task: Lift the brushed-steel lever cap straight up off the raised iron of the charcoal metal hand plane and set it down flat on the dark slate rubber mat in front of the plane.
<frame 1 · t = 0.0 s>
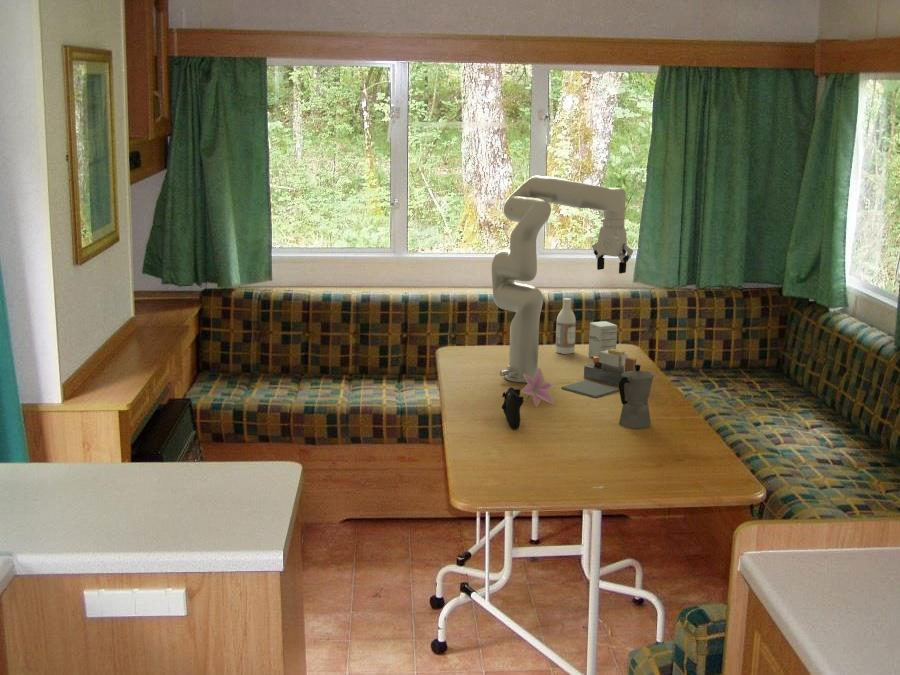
hand: (611, 271, 398), 31 cm above the table, tool pointing down, fingers open, 9 cm apart
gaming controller: (510, 423, 326), on the table
supplement box: (602, 358, 403), on the table
mat: (590, 389, 362), on the table
bath foam: (565, 352, 410), on the table
lily: (536, 403, 347), on the table
plane body: (612, 380, 372), on the table
coffeepot: (632, 425, 326), on the table
lever cap: (613, 363, 371), point 6 cm above the table, touching plane body
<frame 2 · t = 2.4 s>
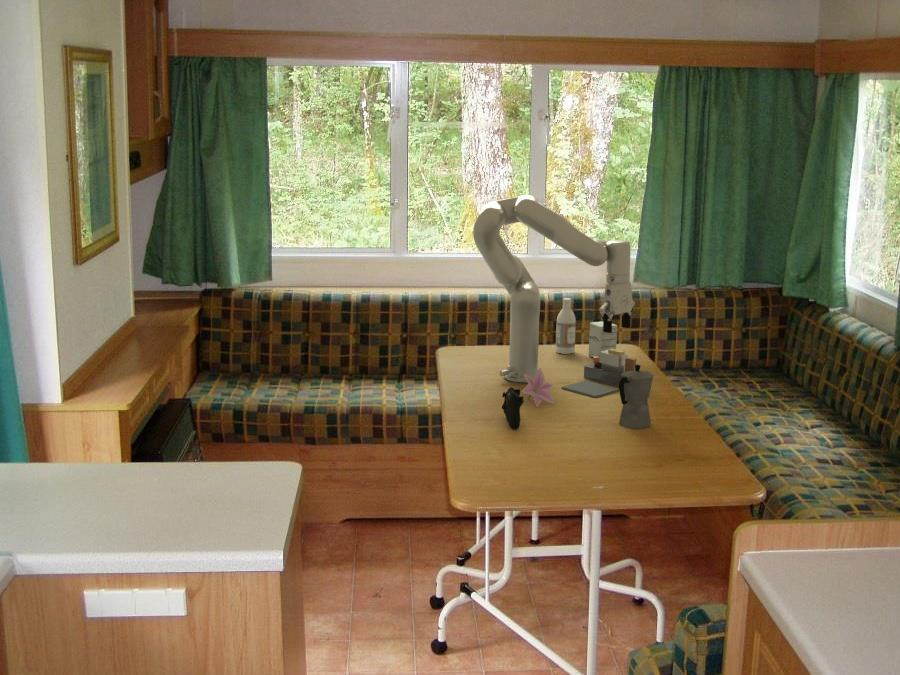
hand: (616, 329, 368), 17 cm above the table, tool pointing down, fingers open, 9 cm apart
nothing on the table moved.
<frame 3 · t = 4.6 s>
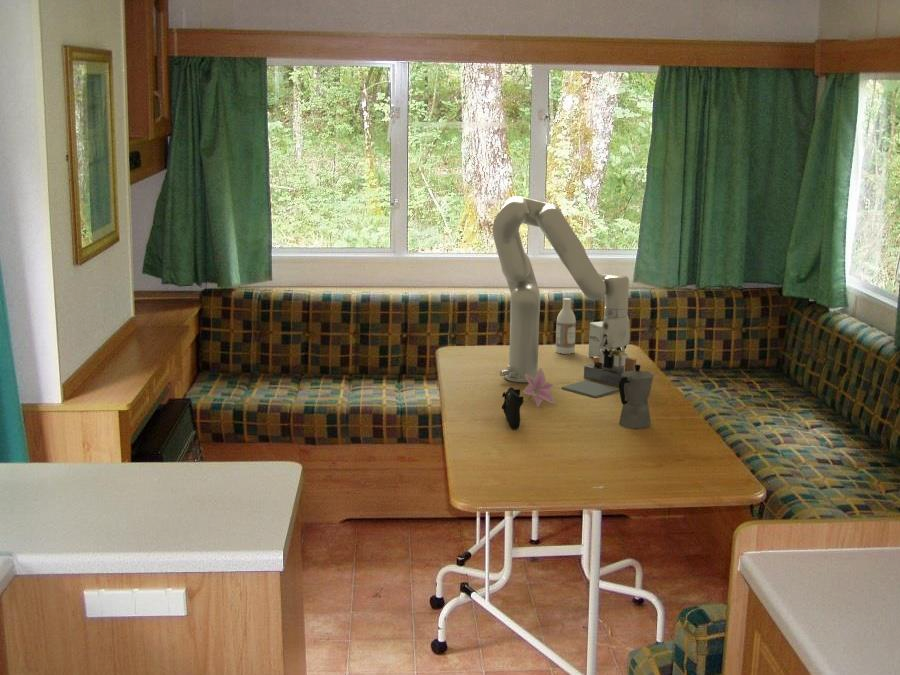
hand: (613, 365, 371), 5 cm above the table, tool pointing down, fingers closed on lever cap, 4 cm apart
lever cap: (613, 363, 371), point 6 cm above the table, touching gripper, plane body
everything else where it was.
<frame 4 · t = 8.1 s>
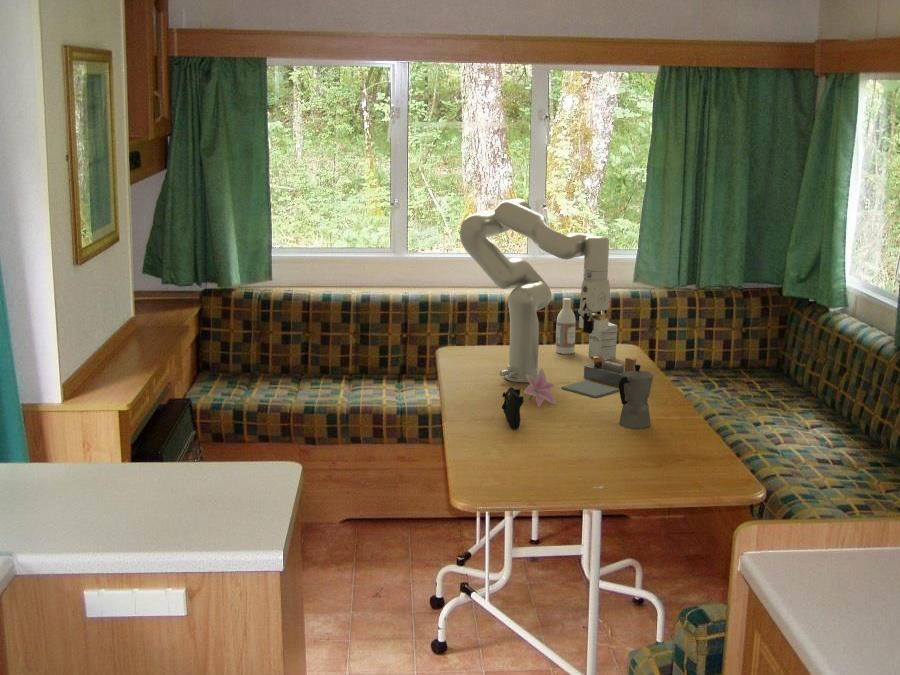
hand: (593, 330, 357), 20 cm above the table, tool pointing down, fingers closed on lever cap, 4 cm apart
lever cap: (593, 328, 357), point 20 cm above the table, touching gripper
everything else where it was.
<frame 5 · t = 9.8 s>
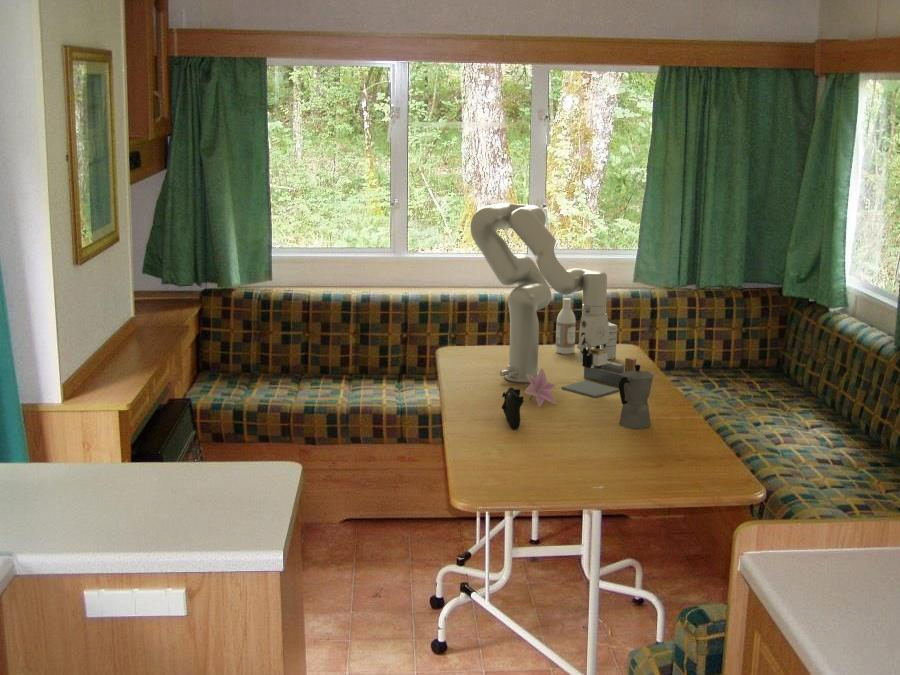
hand: (592, 365, 360), 8 cm above the table, tool pointing down, fingers closed on lever cap, 4 cm apart
lever cap: (592, 362, 359), point 9 cm above the table, touching gripper
everything else where it was.
when the fingers open (2 cm above the table, at t = 11.6 s): lever cap drops 2 cm, resting on mat.
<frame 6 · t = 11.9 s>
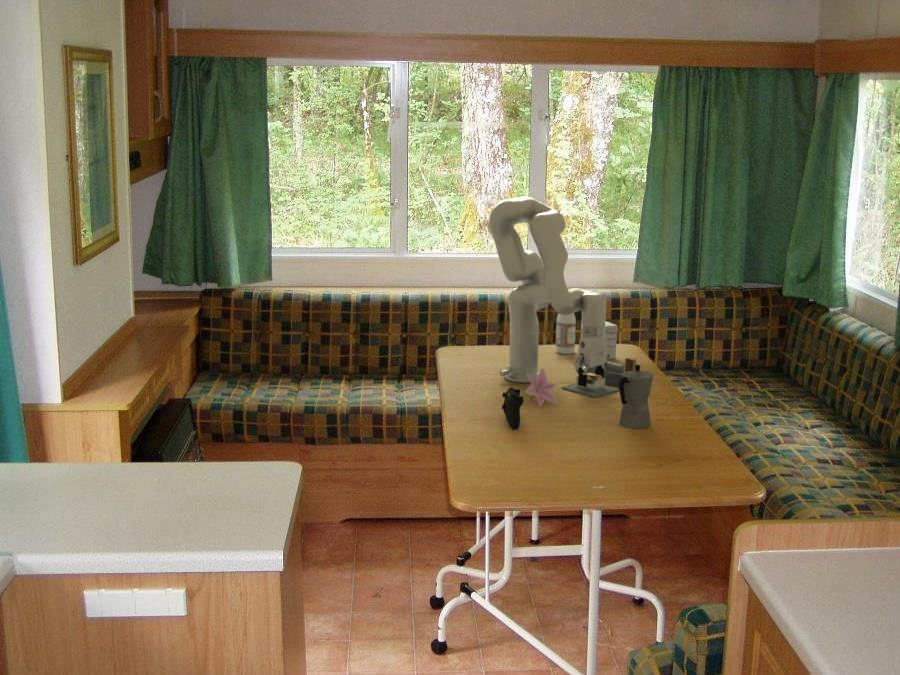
hand: (590, 383, 361), 2 cm above the table, tool pointing down, fingers open, 8 cm apart
lever cap: (590, 387, 361), point 1 cm above the table, touching mat
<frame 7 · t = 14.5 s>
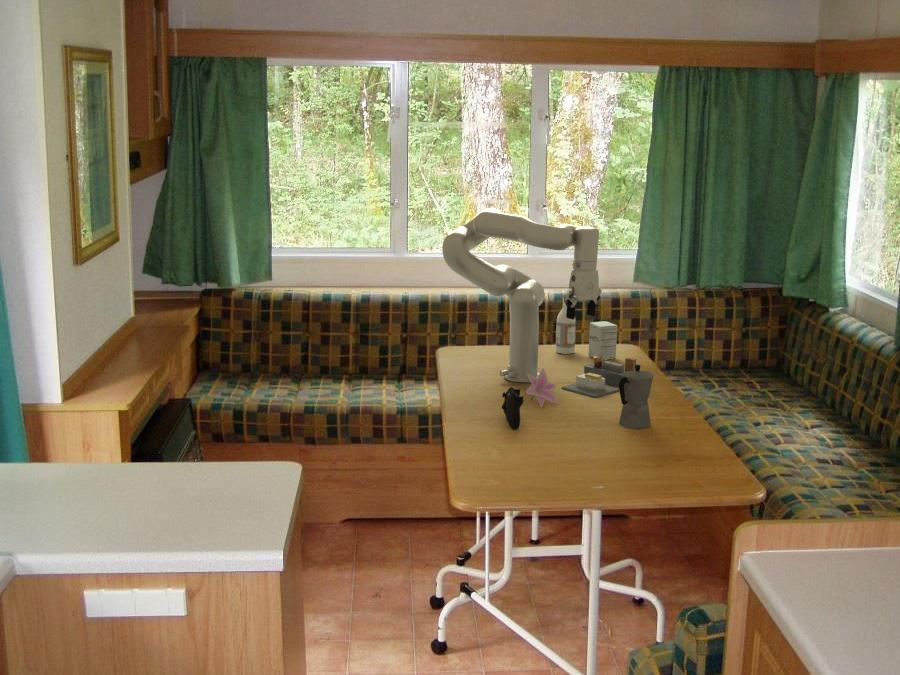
hand: (580, 317, 364), 22 cm above the table, tool pointing down, fingers open, 9 cm apart
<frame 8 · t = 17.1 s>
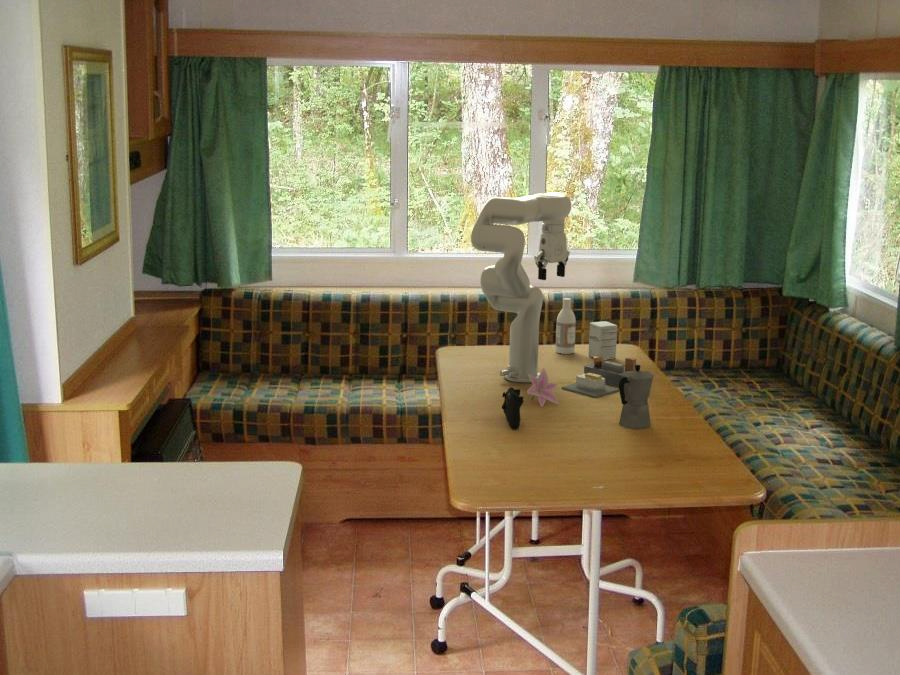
hand: (551, 278, 388), 30 cm above the table, tool pointing down, fingers open, 9 cm apart
at the end: lever cap inside the target area on the mat (0.1 cm from its centre), point 0.6 cm above the mat's base; lever cap tilted 0°; the gripper is holding nothing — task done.
